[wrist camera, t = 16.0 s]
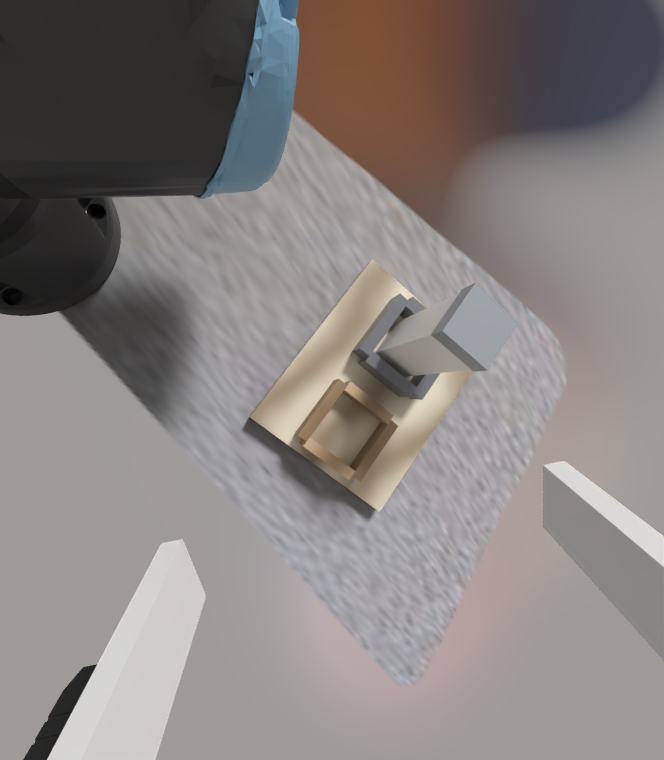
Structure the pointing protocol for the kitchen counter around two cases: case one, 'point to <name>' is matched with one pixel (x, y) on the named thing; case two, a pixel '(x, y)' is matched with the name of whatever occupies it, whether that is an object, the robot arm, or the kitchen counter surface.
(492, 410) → the kitchen counter surface
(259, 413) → the board
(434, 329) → the plug
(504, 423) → the kitchen counter surface
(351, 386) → the holster
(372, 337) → the port
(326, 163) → the kitchen counter surface
